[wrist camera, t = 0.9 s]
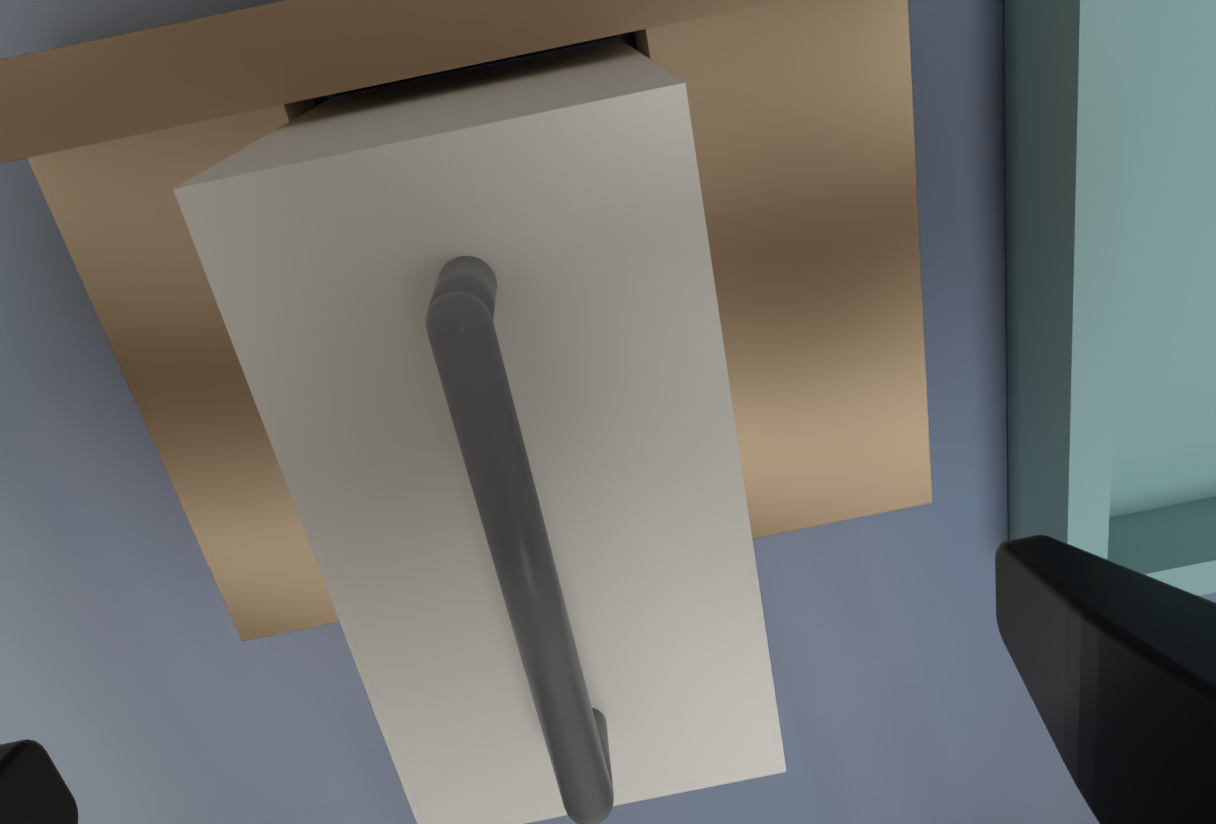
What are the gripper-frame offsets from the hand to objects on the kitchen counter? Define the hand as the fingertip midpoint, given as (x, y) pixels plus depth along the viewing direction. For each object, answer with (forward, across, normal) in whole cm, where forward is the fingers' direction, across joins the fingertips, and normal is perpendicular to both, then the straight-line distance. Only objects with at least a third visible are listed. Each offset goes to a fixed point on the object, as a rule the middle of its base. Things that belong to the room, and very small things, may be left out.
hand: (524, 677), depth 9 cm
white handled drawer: (+10, 0, 0) cm, 10 cm away
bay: (+10, 0, 0) cm, 10 cm away
